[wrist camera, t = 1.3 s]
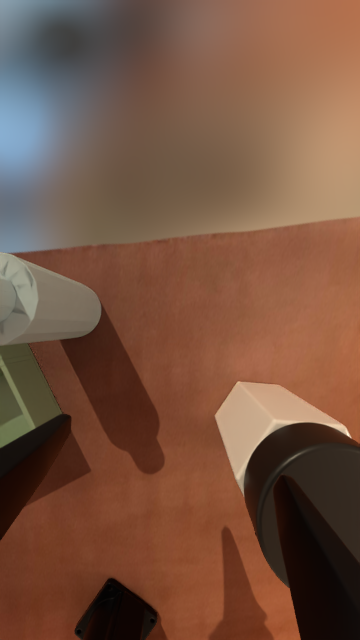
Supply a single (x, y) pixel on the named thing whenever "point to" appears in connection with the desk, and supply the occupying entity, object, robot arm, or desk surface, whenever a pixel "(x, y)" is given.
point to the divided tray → (22, 393)
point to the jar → (290, 462)
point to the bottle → (42, 304)
